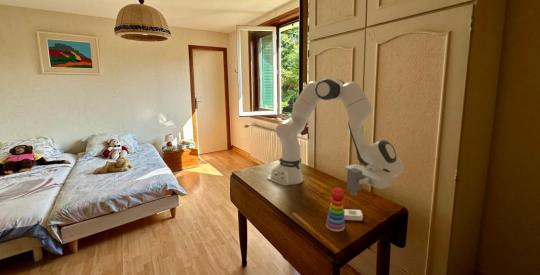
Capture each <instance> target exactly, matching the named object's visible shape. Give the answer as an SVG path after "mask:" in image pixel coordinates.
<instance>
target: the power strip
mask: <svg viewBox="0 0 540 275" xmlns="http://www.w3.org/2000/svg"><path fill="white" fill-rule="evenodd" d="M363 215H364V214H363V212H362V210H361V209H347V208H346V209H345V208H344V218H345V220H344V221H363V220H364V219H363V218H364V216H363Z"/></svg>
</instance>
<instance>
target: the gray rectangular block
mask: <svg viewBox="0 0 540 275" xmlns="http://www.w3.org/2000/svg"><path fill="white" fill-rule="evenodd" d="M359 178H360V179H362V171H361V170H359V169H356V168H351V169H348V172H347V174H346V190H348V191H350V195H351V196H357V192H360V191H362V184H359V183H357V179H359Z"/></svg>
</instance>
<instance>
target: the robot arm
mask: <svg viewBox="0 0 540 275" xmlns="http://www.w3.org/2000/svg"><path fill="white" fill-rule="evenodd" d="M321 100H323V101H335V100H340V101H342V103H343V105H344V108H345V110H346V112H347V116H348V122H347V125H348V129H349V132H350V136H351V139H352V141H353V144H354V148H355V150H356V158H357V160H358V162H359V163H360V164H356V163H355V164H349V165H346V166H345V168H344V169H345V170H344V172H345V174H346V175H347V172H348V169H351V168H356V169H359V170H361V171H362V179H360V178H359V179H357V183H359V184H361V185H362V184H365V185H370V186H371V187H374V188H376V189H380V190H382V189H386V188H388V187H391V186H392V183H393V179H394V178H396V177H398V176H399V175H401V174H402V173H403V171H404V168H405V165H404V162H403V160H401V159H400V158H399V157H398V156H397V152H396V149H395V147H394V146H393V144H392V143H391V142H389V141H388V140H384V139H381V140H378V141H376V142H374V143H372V144H369V145H368V144H367V141H366V138H365V134H364V132H363V126H364V124H365V123H366V121H367V120H368V118H369V117H370V115H371V114H372V104H371V102H370V100H369V98H368V96H367V95H366V93H365V92H364V90H363V88H362V87H361V86H360V85H359V83H357V82H356V81H348V82H346V83H345V82H344V81H343V80H341V79H338V78H323V79H321V80H319V81H316V80H315V81H314V80H311V81H310V82H308V83H307V84H306V85H305V87H304V88H303V89H302V91H301V92H300V93H299V95H298V97H297V98H296V101H295V102H294V104H293V105H292V110H291V113H290V116H288V118H287V119H284V120H282V121H279V123H278V124H277V125H276V127H275V133H276V136H277V137H278V138H279V140H280V144H281V153H282V154H281V156H282V157H280V159H278V162H279V163H278V164H277V165H275V166H274V167H272V169H271V172H270V174H268V176H267V180H269V181H271V182H273V183H277V184H279V185H281V186H289V185H298V184H301V183H302V182H303V181H304V178H303V174H302V158H301V144H299V140H298V135H299V134H301V133H302V132H303V131H304V129H305V128H306V124H308V121H309V119H310V117H311V115H312V114H313V112H314V110H315V109H316V108H317V105H318V104H319V102H320V101H321Z"/></svg>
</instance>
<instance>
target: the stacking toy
mask: <svg viewBox="0 0 540 275" xmlns="http://www.w3.org/2000/svg"><path fill="white" fill-rule="evenodd" d="M344 197H345V191H344V189H342V188H341V187H335V188H333V189H332V190H331V199H330V203H329V208H328V209H329V211H328V212H327V219H326V223H325V227H326V228H327V229H328V230H330V231H332V232H341V231H344V230H345V229H346V225H345V221H346V220H345V218H344V209H345V208H344V207H345V206H344Z"/></svg>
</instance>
